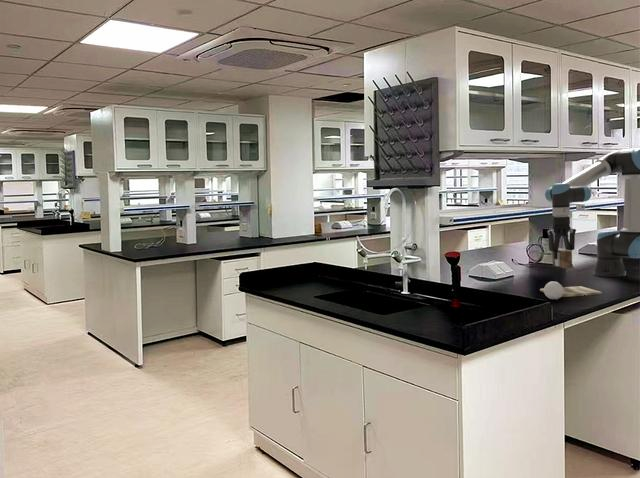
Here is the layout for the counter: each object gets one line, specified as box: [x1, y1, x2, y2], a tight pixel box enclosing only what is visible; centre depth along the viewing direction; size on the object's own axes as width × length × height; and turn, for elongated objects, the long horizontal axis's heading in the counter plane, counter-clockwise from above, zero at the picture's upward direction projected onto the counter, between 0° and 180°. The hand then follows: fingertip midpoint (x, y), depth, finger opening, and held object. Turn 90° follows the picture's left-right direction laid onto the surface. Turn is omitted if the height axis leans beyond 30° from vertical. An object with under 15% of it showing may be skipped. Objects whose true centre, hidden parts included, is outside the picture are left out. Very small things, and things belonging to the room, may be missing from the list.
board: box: [539, 285, 603, 298], centre depth 254 cm, size 20×16×1 cm
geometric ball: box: [543, 281, 563, 300], centre depth 241 cm, size 8×8×8 cm
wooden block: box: [551, 247, 573, 269], centre depth 268 cm, size 4×10×8 cm, turn 7°
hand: (562, 265), depth 268 cm, fingers closed on wooden block, 4 cm apart
